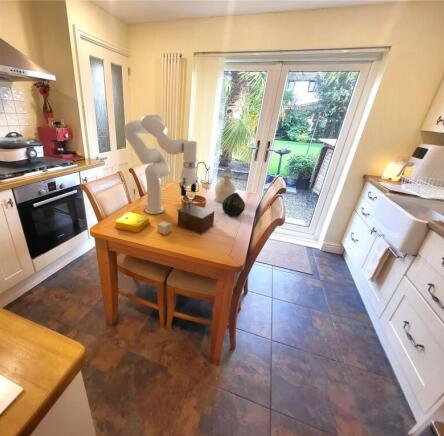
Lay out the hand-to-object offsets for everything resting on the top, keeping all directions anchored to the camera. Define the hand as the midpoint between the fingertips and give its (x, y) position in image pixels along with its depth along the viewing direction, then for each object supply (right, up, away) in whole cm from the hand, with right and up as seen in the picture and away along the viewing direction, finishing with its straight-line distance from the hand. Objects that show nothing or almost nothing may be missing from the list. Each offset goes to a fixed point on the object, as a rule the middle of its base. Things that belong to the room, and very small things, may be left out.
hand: (188, 193), depth 136 cm
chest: (+4, -19, +5) cm, 20 cm away
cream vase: (+29, 0, +46) cm, 54 cm away
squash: (+31, -11, +23) cm, 40 cm away
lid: (+4, -11, +1) cm, 11 cm away
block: (-14, -22, -4) cm, 26 cm away
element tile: (-33, -19, +2) cm, 38 cm away
